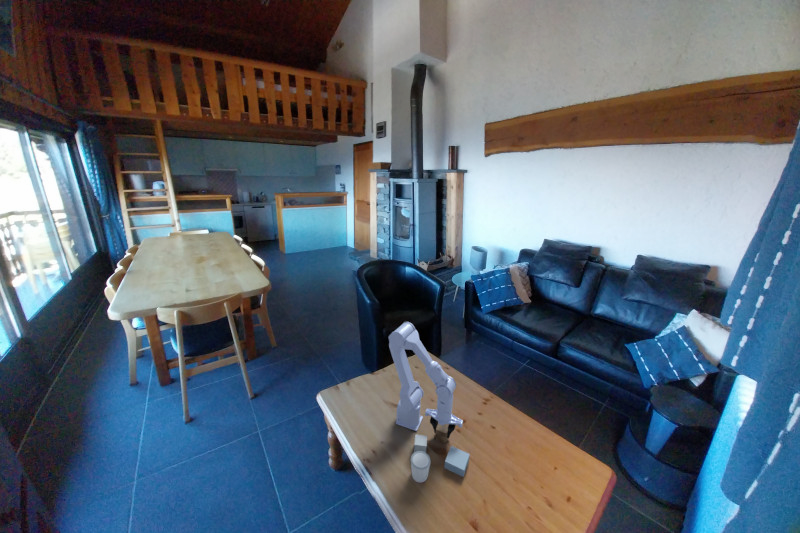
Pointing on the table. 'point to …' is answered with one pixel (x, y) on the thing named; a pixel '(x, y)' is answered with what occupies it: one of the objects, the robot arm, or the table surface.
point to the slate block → (457, 461)
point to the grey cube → (420, 443)
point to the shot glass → (420, 466)
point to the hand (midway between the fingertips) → (442, 434)
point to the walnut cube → (441, 432)
